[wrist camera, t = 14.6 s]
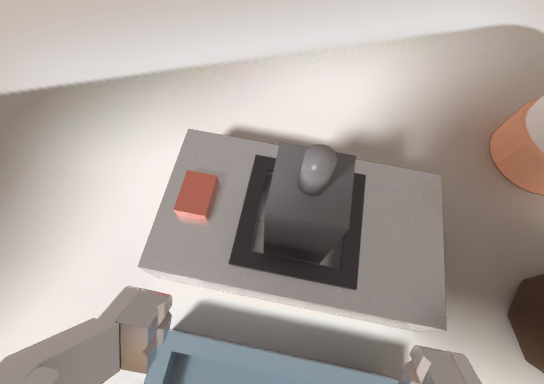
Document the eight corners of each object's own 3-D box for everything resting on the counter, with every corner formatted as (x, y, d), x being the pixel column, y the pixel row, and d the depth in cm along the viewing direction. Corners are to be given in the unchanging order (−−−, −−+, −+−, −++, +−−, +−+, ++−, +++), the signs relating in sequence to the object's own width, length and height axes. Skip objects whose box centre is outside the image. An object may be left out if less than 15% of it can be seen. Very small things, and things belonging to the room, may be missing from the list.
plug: (263, 252, 22) (265, 191, 13) (274, 200, 24) (282, 113, 14) (319, 263, 22) (364, 210, 12) (326, 210, 24) (370, 128, 14)
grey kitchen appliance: (157, 277, 22) (132, 264, 18) (198, 157, 26) (185, 121, 22) (414, 331, 21) (454, 330, 17) (415, 197, 25) (447, 169, 21)
